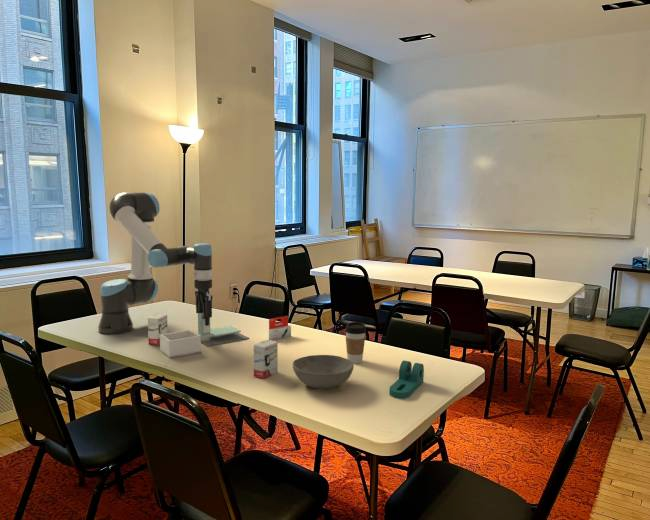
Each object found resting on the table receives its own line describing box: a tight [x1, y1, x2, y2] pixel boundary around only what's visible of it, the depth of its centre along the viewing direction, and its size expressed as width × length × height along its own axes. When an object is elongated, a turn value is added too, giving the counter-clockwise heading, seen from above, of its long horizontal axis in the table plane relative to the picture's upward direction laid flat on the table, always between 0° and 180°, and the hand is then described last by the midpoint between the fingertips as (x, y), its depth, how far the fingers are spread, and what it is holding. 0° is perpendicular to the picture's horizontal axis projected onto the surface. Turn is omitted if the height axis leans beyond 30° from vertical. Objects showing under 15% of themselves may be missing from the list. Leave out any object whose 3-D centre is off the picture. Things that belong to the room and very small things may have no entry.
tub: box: [159, 329, 202, 359], centre depth 204 cm, size 11×13×7 cm
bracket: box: [388, 359, 425, 400], centre depth 169 cm, size 18×7×8 cm, turn 151°
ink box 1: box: [147, 313, 169, 346], centre depth 216 cm, size 9×5×12 cm, turn 168°
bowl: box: [292, 354, 355, 390], centre depth 171 cm, size 21×21×8 cm
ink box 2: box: [253, 339, 279, 380], centre depth 180 cm, size 9×5×12 cm, turn 148°
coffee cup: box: [344, 321, 367, 365], centre depth 195 cm, size 8×8×15 cm
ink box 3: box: [268, 315, 292, 342], centre depth 225 cm, size 2×11×10 cm, turn 131°
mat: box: [200, 332, 250, 347], centre depth 224 cm, size 16×20×1 cm
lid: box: [197, 312, 242, 337], centre depth 222 cm, size 11×17×10 cm, turn 127°
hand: (204, 331), depth 219 cm, fingers closed on lid, 4 cm apart
